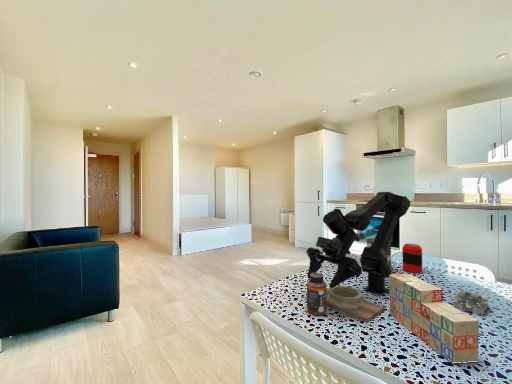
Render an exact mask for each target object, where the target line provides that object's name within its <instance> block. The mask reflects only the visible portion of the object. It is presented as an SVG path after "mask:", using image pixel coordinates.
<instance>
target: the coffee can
mask: <svg viewBox="0 0 512 384" xmlns="http://www.w3.org/2000/svg"><path fill="white" fill-rule="evenodd" d="M374 239H375V237H372V238H366V239H365V241H366V247H370V246H371V245H372V244H373V241H374ZM391 250H392V240H390V242H389V244H388V247H387V249H386V255H387V259H388V261H387V264H388V266H389V267H390V268H391V269H392V251H391Z"/></svg>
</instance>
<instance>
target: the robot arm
mask: <svg viewBox="0 0 512 384" xmlns="http://www.w3.org/2000/svg"><path fill="white" fill-rule="evenodd" d="M410 207H411V201H410V199H409V198H408V197H407V196H406V195H399V194H396V193H393V192H391V191H379V192H376V194H375V196H374V197H372V198H371V199H370V200H368V201H367V202H366V203H365V204H363V206H361V207H360V208H357V209H354V210H351V211H349V212H347V213H346V214H345V215H344V214H343V212H342V210H341V209H340V208H334V209H333V210H331V211H329V212H327V213H326V214H324V216H323V218H322V221H323V223H324V225H326V227H327V228H328V229H329V231H330V232H331V233H332V234H333V235H335V237H333V238H327V237H322V236H317V241H316V244H315V246H316V247H318V248H315V247H312V246H311V247H308V248H307V249H306V252H305V254H307V257H308V258H309V266H308V271H307V279H308V280H310V274H311V273H318V271H319V270H320V269H321V268H322V266H323V265H322V264H324V263H325V262H327V263H330V264H334V265H337V271H336V272H335V274H334V276H333V277H332V280H331V282H330V283H329V287H330V288H334V287H335V286H339V285H340V284H342V283H343V282H345V281H347V280H349V279H351V278H356V277H360V275H362V272H365V273H367V286H365V287H364V288H363V289H364V290H365V291H369V292H372V293H375V294H378V295H382V296H383V294H385V293H387V292H389V291H390V290H389V288H388V287H386V278H387V279H389V275H392V271H393V270H392V267H391V268H390V267H389V266H388V264H387V261H388V259H387V255H386V249H387V247H388V244H389V242H390V241H391V239H392V237H393V233H394V231H395V230H396V227H397V225H398V221H399V220H400V218H402V217H403V216H405V215H406V214H407V212H408V211H409V209H410ZM382 209H383V210H384V215H383V218H382V219H381V223H380V224H379V228H378V229H377V232H376V235H375V237H374V238H375V239H374V241H373V244H372V245H371V246H370V247H367V246H364V247H363V249H362V253H361V254H360V257H359V263H360V264H359V263H358V261H357V260H356V258H353V257H350V256H347V255H350V254H351V253H352V252H351V251H350V248H352V245H353V243H354V242H360V240H361V239H360V237H359V233H357V232H356V231H359V232H361V231H362V232H363V231H366V229H367V228H368V227H369V226H370V225H371V223H372V222H371V221H372V218H373V217H374V216H375V215H377V214H378V212H380V211H381V210H382ZM319 248H321V250H320V249H319ZM322 252H323V253H322ZM324 253H325V254H324ZM329 287H328V288H329Z"/></svg>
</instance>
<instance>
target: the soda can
mask: <svg viewBox="0 0 512 384" xmlns="http://www.w3.org/2000/svg"><path fill="white" fill-rule="evenodd" d="M401 249H402V251H401V253H402V270H403V272H405V273H408V274H418V273H419V274H422V273H423V249H422V247H421V245H420V244H416V243H405V244H404V245H403V246H402V248H401Z"/></svg>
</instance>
